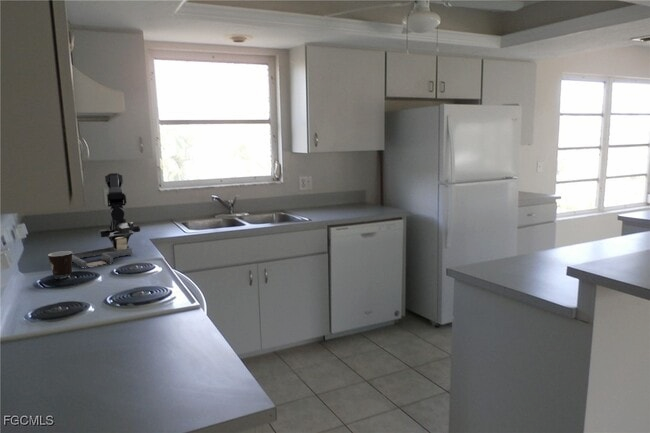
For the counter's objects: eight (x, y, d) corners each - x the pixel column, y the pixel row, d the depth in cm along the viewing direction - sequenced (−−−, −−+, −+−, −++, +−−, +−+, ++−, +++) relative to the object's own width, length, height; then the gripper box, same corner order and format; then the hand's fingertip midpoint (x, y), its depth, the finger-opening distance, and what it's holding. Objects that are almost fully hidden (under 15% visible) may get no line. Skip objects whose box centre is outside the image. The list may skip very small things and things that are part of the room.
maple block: (114, 250, 232) (113, 238, 231) (123, 248, 235) (122, 236, 234) (118, 251, 229) (116, 239, 228) (127, 250, 232) (126, 238, 231)
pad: (83, 264, 212) (83, 264, 212) (102, 261, 218) (102, 260, 218) (89, 267, 207) (88, 266, 207) (107, 264, 213) (107, 263, 213)
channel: (68, 260, 221) (67, 254, 221) (122, 250, 239) (121, 244, 238) (84, 269, 206) (83, 262, 205) (140, 258, 223) (140, 251, 222)
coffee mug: (53, 275, 196) (50, 252, 195) (76, 273, 199) (73, 250, 198) (47, 283, 186) (44, 258, 184) (72, 280, 189) (69, 256, 187)
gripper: (103, 221, 217) (107, 254, 220) (143, 216, 230) (146, 247, 232) (95, 218, 225) (98, 250, 228) (134, 213, 238) (136, 243, 240)
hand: (120, 248), depth 232 cm, fingers closed on maple block, 4 cm apart
